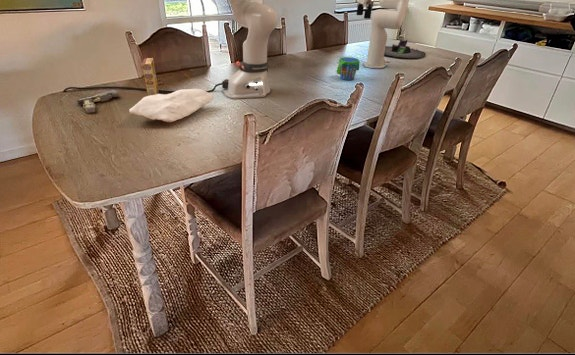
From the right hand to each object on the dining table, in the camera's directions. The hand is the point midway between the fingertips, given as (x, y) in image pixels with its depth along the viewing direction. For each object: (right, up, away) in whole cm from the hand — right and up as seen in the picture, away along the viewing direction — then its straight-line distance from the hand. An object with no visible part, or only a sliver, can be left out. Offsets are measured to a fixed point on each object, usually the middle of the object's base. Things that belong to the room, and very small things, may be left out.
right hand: (363, 16), depth 180 cm
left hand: (-56, +18, +12) cm, 60 cm away
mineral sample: (+40, +7, +72) cm, 83 cm away
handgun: (-117, -48, -24) cm, 129 cm away
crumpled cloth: (-85, -53, -30) cm, 105 cm away
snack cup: (-5, -26, +18) cm, 32 cm away
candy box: (-99, -42, -13) cm, 108 cm away
